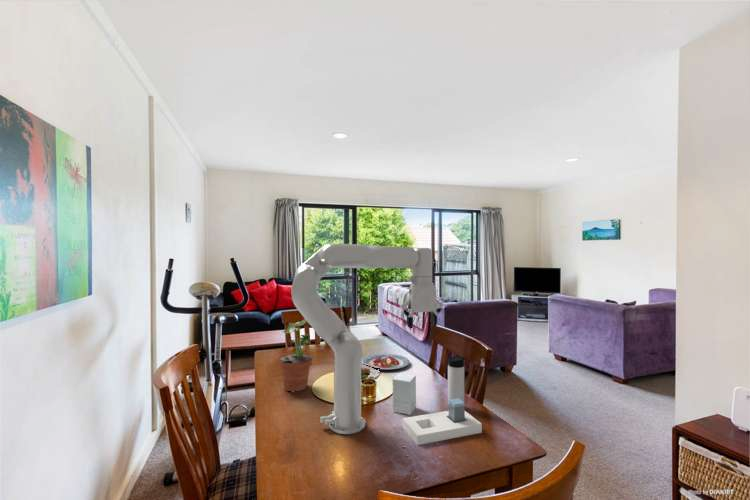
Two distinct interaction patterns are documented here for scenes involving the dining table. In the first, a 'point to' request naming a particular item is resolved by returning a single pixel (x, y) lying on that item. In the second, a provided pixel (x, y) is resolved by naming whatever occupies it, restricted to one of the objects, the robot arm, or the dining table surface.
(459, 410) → the plug
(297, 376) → the potted plant
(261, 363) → the dining table surface
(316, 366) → the dining table surface
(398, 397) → the supplement box
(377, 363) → the ceramic plate
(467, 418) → the socket panel
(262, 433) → the dining table surface
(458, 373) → the travel mug
